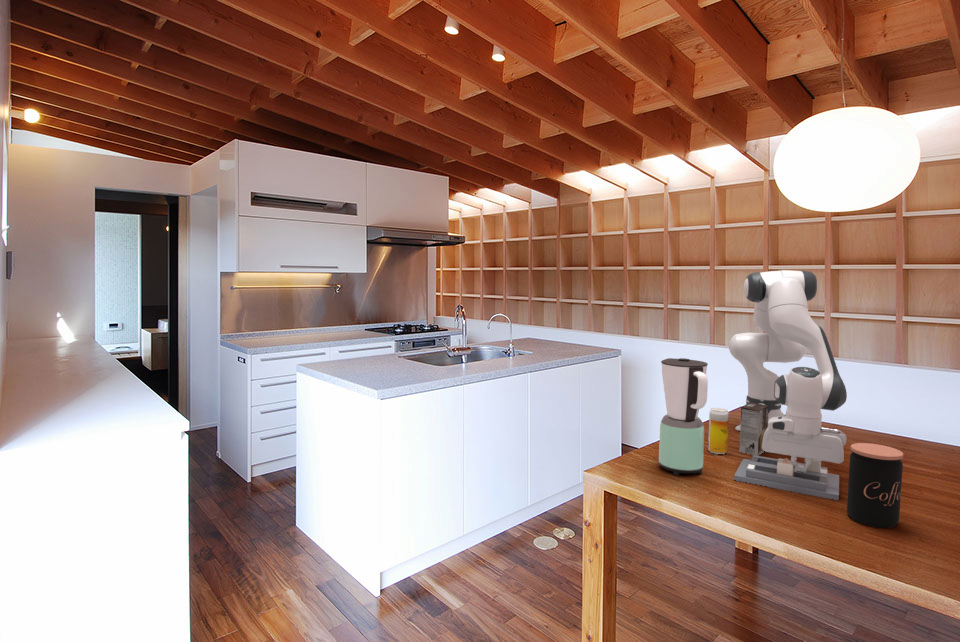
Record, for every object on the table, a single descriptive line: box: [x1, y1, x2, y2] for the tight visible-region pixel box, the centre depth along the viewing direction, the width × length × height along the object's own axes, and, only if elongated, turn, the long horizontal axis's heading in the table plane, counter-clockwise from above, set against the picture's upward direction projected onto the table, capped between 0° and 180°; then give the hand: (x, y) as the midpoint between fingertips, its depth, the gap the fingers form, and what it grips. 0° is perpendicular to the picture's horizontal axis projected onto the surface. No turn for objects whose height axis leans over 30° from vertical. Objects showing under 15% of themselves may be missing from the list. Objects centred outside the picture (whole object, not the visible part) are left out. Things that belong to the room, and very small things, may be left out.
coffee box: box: [739, 403, 768, 456], centre depth 187 cm, size 9×6×16 cm
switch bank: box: [733, 455, 840, 501], centre depth 161 cm, size 18×26×4 cm
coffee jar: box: [846, 442, 904, 529], centre depth 135 cm, size 11×11×18 cm
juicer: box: [658, 357, 709, 476], centre depth 168 cm, size 19×13×35 cm
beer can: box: [707, 407, 730, 455], centre depth 186 cm, size 6×6×15 cm
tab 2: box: [804, 458, 822, 473], centre depth 161 cm, size 4×4×6 cm
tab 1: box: [777, 457, 794, 477], centre depth 158 cm, size 4×4×6 cm
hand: (800, 471), depth 156 cm, fingers closed
